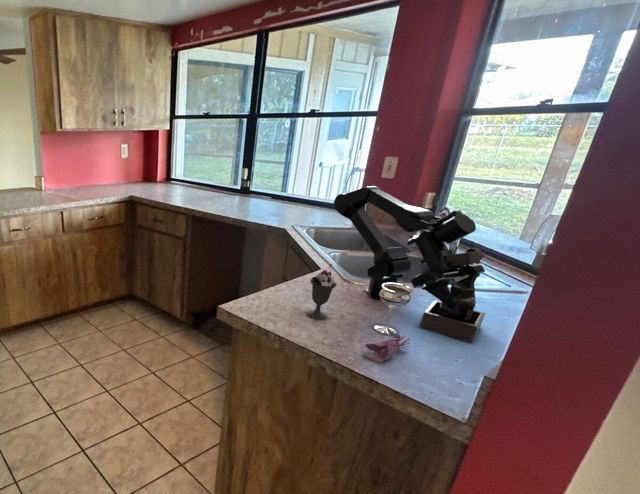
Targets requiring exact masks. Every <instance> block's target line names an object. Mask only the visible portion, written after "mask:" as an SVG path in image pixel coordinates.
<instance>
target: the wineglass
mask: <svg viewBox="0 0 640 494" xmlns="http://www.w3.org/2000/svg"><path fill="white" fill-rule="evenodd" d="M382 287H383V289H382V290H381V291H380V294H379V295H380V299H379V300H381V302H382V303H383V305H385V306H387V307H388V313H387V318H386V323H385V325H384V324H383V325H382V324H379V325H378V324H377V325H375V326H374V329H375V330H376V331H377V332H379V333H381V334H384V335H397V330H396V329H394V328H393V327H391V326H388V325H389V323H390V319H391V317H392V315H393V311H394V309H398V308H402V307H405V306H407V305H408V304H409V303H410V302H411V299H412V293H413V292H414V290H413V288H411V287H410V286H408V285H406V284H405V285H404V284H402V283H397V284H396V283H385V284H383V285H382Z"/></svg>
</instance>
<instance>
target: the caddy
mask: <svg viewBox="0 0 640 494" xmlns="http://www.w3.org/2000/svg"><path fill="white" fill-rule="evenodd" d="M440 304H441V301H440V300H435V299H434V300H433V301H432V302H431V303H430V305H429V306H428V307H426V309H425V311H424V312H423V314H422V318H421V320H420V323H419V328H420V329H423V330H427V331H431V332H434V333H436V334H441V335H443V336H447V337H450V338H454V339H457V340H459V341H462V342H463V341H464V342H467V343H469V344H472V343H473V341H474V339H475V337H476V336H477V334H478V332H479V330H480V328H481V325H482V323H483V321H484V319H485V315H486V312H482V311H479V310H475V309H474V310H473V313H472V316H471V319H470V322H469V323H465V322H462V321H458V320H454V319H451V318H447V317H443V316H440V315H437V314H438V311H439V307H440Z"/></svg>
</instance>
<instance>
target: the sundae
mask: <svg viewBox="0 0 640 494" xmlns="http://www.w3.org/2000/svg"><path fill="white" fill-rule="evenodd" d="M332 266H333V264H332V263H330V264H329V266H328V268H329V271H327V270H328V268H326V269H323V270H322V271H320V272H319V273H317V274H316V276H312V277H311V279H310V280H309V281H310V284H311V285H312V286H311V287H312V288H311V298H312V302H313V303H315V304H316V306H315V309H314V310H309V311H308V312H307V313H306V314H307V316H308V317H310V318H311V319H315V320H325V319H326V318H327V315H326V314H325V313H324V312H321V307H322V305H325V304H326V303H328V301H329V299H330V297H331V294H332V292H333V289H334V288H336V287H337V285H338V283H337V282H335V279H334V278H333V276H332V275H333V273H332V272H331V271H332Z"/></svg>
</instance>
